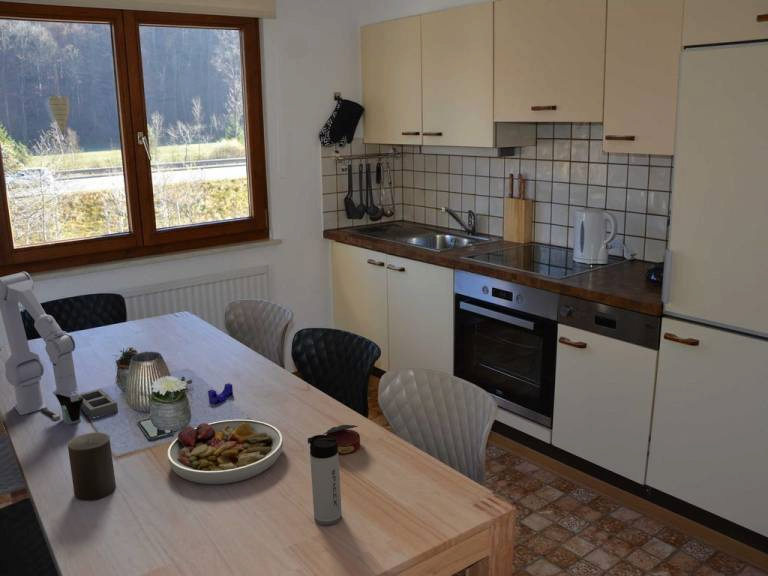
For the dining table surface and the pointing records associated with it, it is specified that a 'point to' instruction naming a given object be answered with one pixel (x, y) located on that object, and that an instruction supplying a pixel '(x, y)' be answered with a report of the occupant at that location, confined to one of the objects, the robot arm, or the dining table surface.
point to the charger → (67, 416)
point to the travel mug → (325, 479)
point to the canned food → (345, 439)
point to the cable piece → (51, 414)
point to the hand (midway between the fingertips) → (71, 416)
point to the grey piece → (98, 403)
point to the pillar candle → (91, 466)
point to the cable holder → (222, 396)
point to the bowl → (225, 451)
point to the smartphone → (153, 430)
